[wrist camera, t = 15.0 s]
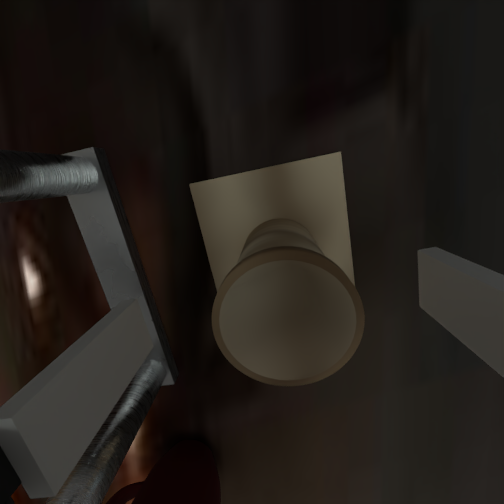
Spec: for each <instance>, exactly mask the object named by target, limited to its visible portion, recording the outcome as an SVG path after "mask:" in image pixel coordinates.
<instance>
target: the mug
mask: <svg viewBox="0 0 504 504" xmlns="http://www.w3.org/2000/svg"><path fill="white" fill-rule="evenodd" d="M134 497H135V498H134ZM132 498H134V500H133V502H132V504H220V502H221V492H220V481H219V476H218V472H217V468H216V464H215V461H214V458H213V454H212V452H211V450H210V449H209V447H208V446H206V445H205V444H204V443H202V442H200V441H197V440H183V441H180V442H178V443H177V444H176V445H175V446H173V447H172V448H171V449H170V450H169V451H168V452H167V453H166V454H165V455H164V456H163V457H162V458H161V459H160V460H159V461H158V462H157V463H156V465H155V466H154V467H153V468H152V470H151V471H150V473H149V474H148V476H147V478H146V480H145V481H142V482H137V483H133V484H130V485H128V486H126V487H124V488H122V489H121V490H119V491H118V492H117V493H115V494H114V495H113V496H112V497H111V498H110V499H109V501H108V502H107V503H106V504H125V503H126V502H127V501H129V500H130V499H132Z"/></svg>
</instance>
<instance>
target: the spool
mask: <svg viewBox="0 0 504 504" xmlns="http://www.w3.org/2000/svg"><path fill="white" fill-rule="evenodd" d="M364 324H365V318H364V309H363V304H362V301H361V298H360V295H359V293H358V291H357V290H356V288H355V286H354V285H353V283H352V282H351V281H350V279H349V278H348V277H347V275H346V274H345V272H344V271H343V270H342V269H341V268H340V267H339V266H338V265H337V264H336V263H334V262H333V261H332V260H330V259H329V258H327V257H326V256H325V255H324V254H323V252H322V250H321V249H320V247H319V246H318V244H317V243H316V241H315V240H314V238H313V236H312V235H311V234H310V232H309V231H308V230H307V229H306V228H305V227H304V226H302V225H301V224H299V223H298V222H295V221H293V220H289V219H272V220H268V221H265V222H263V223H261V224H260V225H258V226H257V227H256V228H254V229H253V230H252V232H251V233H250V234H249V236H248V237H247V239H246V242H245V244H244V247H243V249H242V252H241V255H240V257H239V260H238V262H237V265H236V266H234V267H233V268H232V269H231V271H230V272H229V273H228V274H227V276H226V277H225V279H224V281H223V282H222V284H221V286H220V288H219V291H218V293H217V295H216V298H215V300H214V304H213V309H212V329H213V333H214V337H215V340H216V342H217V345H218V346H219V348H220V350H221V352H222V353H223V355H224V356H225V357H226V359H227V360H228V361H229V362H230V363H231V364H232V365H233V366H234V367H235V368H237V369H238V370H239V371H241V372H242V373H244V374H245V375H247V376H249V377H251V378H253V379H255V380H258V381H260V382H263V383H267V384H271V385H277V386H300V385H306V384H310V383H314V382H317V381H319V380H322V379H324V378H326V377H328V376H330V375H332V374H333V373H335V372H336V371H338V370H339V369H340V368H341V367H343V366H344V365H345V364H346V363H347V362H348V361H349V359H350V358H351V357H352V356H353V354H354V353H355V351H356V350H357V348H358V346H359V343H360V341H361V338H362V335H363V331H364Z"/></svg>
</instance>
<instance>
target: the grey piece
mask: <svg viewBox="0 0 504 504" xmlns="http://www.w3.org/2000/svg"><path fill="white" fill-rule="evenodd" d="M59 196H67V197H68V200H69V202H70V205H71V208H72V210H73V213H74V215H75V218H76V221H77V223H78V226H79V228H80V231H81V233H82V236H83V239H84V241H85V244H86V246H87V249H88V252H89V254H90V257H91V259H92V262H93V265H94V267H95V270H96V272H97V275H98V277H99V280H100V283H101V285H102V288H103V290H104V293H105V296H106V298H107V301H108V303H109V306H110V308H111V310H112V309H113V308H115V307H116V306H117V305H118V304H119V303H120V302H121V301H124V300H129V299H135V298H137V300H138V303H139V306H140V309H141V311H142V314H143V317H144V320H145V323H146V326H147V329H148V331H149V334H150V337H151V340H152V343H153V346H154V347H153V348H152V350H151V351H150V353H149V354H148V356H147V357H146V359H145V360H144V362H143V363H142V365H141V366H140V368H139V370H138V371H137V373H136V374H135V376H134V377H133V379H132V380H131V382H130V383H129V385H128V386H127V388H126V389H125V391H124V392H123V394H122V395H121V397H120V399H119V400H118V402H117V403H116V405H115V406H114V408H113V409H112V411H111V412H110V414H109V415H108V417H107V418H106V420H105V421H104V423H103V424H102V426H101V428H100V429H99V431H98V432H97V434H96V435H95V437H94V438H93V440H92V441H91V443H90V444H89V446H88V447H87V449H86V450H85V452H84V453H83V455H82V457H81V458H80V460H79V461H78V463H77V464H76V466H75V467H74V469H73V470H72V472H71V473H70V475H69V476H68V478H67V479H66V481H65V483H64V484H63V486H62V487H61V489H60V490H59V492H58V493H57V495H56V496H55V497H49V498H48V500H47V501H46V503H45V504H101V503H102V501H103V499H104V497H105V495H106V493H107V491H108V489H109V487H110V485H111V483H112V481H113V479H114V477H115V475H116V473H117V471H118V470H119V468H120V466H121V464H122V462H123V460H124V458H125V456H126V454H127V452H128V450H129V448H130V446H131V444H132V442H133V440H134V438H135V436H136V434H137V432H138V430H139V428H140V427H141V425H142V423H143V421H144V419H145V417H146V415H147V413H148V411H149V409H150V407H151V405H152V403H153V401H154V399H155V397H156V395H157V393H158V391H159V389H160V387H161V386H163V385H171V384H175V382H176V379H177V377H178V375H179V372H178V369H177V366H176V363H175V360H174V357H173V354H172V351H171V348H170V345H169V342H168V339H167V336H166V333H165V330H164V327H163V324H162V321H161V318H160V315H159V312H158V309H157V306H156V303H155V300H154V297H153V294H152V291H151V288H150V285H149V282H148V279H147V276H146V273H145V270H144V267H143V264H142V261H141V258H140V255H139V252H138V249H137V246H136V243H135V240H134V237H133V234H132V231H131V228H130V225H129V222H128V219H127V216H126V213H125V210H124V207H123V204H122V201H121V198H120V195H119V192H118V189H117V186H116V183H115V180H114V177H113V174H112V171H111V168H110V165H109V162H108V159H107V156H106V153H105V150H104V149H103V148H96V147H91V148H87V149H83V150H79V151H74V152H70V153H66V154H62V155H56V154H45V153H34V152H22V151H11V150H0V203H5V202H14V201H23V200H32V199H41V198H50V197H59Z"/></svg>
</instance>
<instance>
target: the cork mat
mask: <svg viewBox="0 0 504 504" xmlns="http://www.w3.org/2000/svg"><path fill="white" fill-rule="evenodd" d="M189 185H190V189H191V193H192V197H193V201H194V205H195V208H196V212H197V216H198V220H199V224H200V228H201V232H202V235H203V239H204V243H205V247H206V251H207V255H208V258H209V262H210V266H211V270H212V274H213V278H214V282H215V285H216V289H217V293H218V291H219V288H220V286H221V284H222V282H223V281H224V279H225V277H226V276H227V274H228V273H229V272H230V271H231V269H232V268H233V267H234V266H236V265H237V262H238V260H239V257H240V255H241V252H242V249H243V247H244V244H245V242H246V239H247V237H248V236H249V234H250V233H251V232H252V230H253V229H254V228H256V227H257V226H258V225H260V224H261V223H263V222H265V221H268V220H272V219H289V220H293V221H295V222H298V223H299V224H301V225H302V226H304V227H305V228H306V229H307V230H308V231H309V232H310V234H311V235H312V236H313V238H314V240H315V241H316V243H317V244H318V246H319V247H320V249H321V250H322V252H323V254H324V255H325V256H326V257H327V258H329V259H330V260H332V261H333V262H334V263H336V264H337V265H338V266H339V267H340V268H341V269H342V270H343V271H344V272H345V274H346V275H347V277H348V278H349V279H350V281H351V282H352V283H353V285H354V286H355V282H354V272H353V263H352V253H351V244H350V234H349V225H348V215H347V206H346V196H345V187H344V177H343V167H342V158H341V152H337V153H332V154H327V155H323V156H318V157H313V158H309V159H304V160H299V161H295V162H290V163H285V164H281V165H276V166H271V167H267V168H262V169H257V170H253V171H248V172H243V173H239V174H234V175H229V176H225V177H220V178H215V179H211V180H206V181H201V182H197V183H192V184H189Z"/></svg>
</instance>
